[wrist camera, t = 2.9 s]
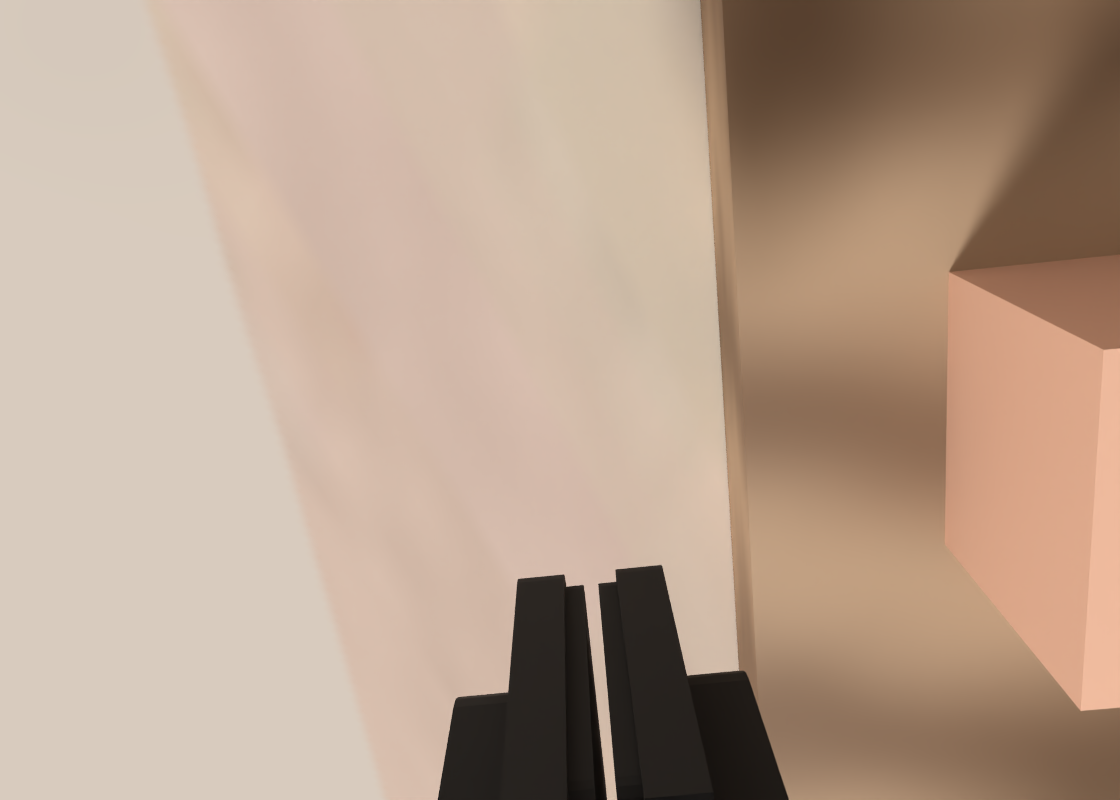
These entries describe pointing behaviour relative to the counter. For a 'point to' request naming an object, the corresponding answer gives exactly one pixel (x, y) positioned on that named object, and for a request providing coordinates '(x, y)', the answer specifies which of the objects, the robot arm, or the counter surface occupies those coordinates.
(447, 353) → the counter surface
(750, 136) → the deck
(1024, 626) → the terracotta block
